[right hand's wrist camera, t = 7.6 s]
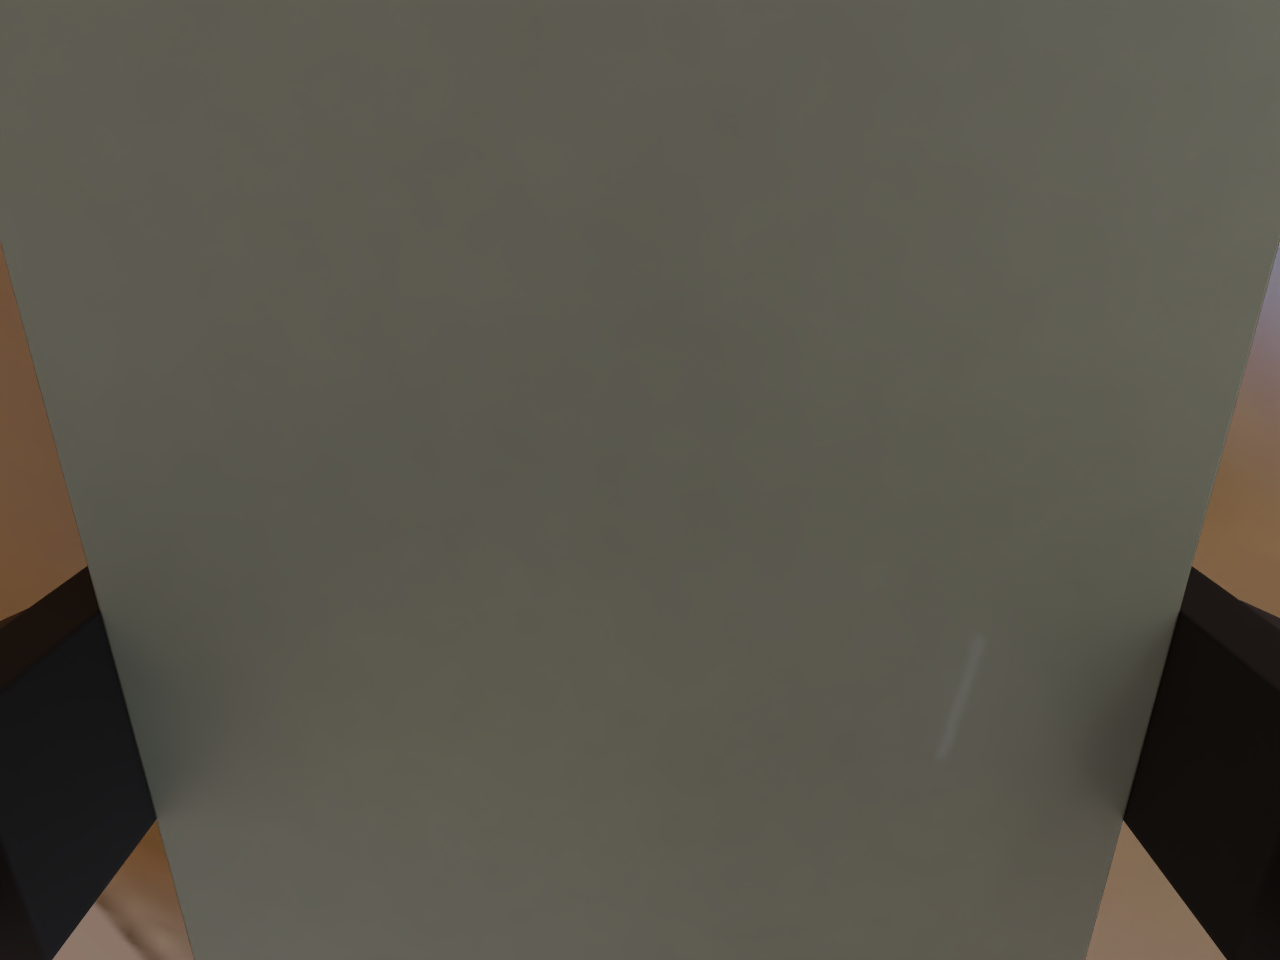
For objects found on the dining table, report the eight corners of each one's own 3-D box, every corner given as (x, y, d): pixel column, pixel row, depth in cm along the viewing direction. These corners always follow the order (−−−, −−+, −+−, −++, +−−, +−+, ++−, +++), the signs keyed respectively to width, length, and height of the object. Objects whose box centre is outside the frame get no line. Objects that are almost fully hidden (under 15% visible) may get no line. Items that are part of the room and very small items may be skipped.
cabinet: (308, -380, 13) (-565, -1822, 4) (973, -381, 13) (1848, -1835, 4) (416, 596, 20) (203, 1001, 10) (863, 597, 20) (1075, 1003, 10)
